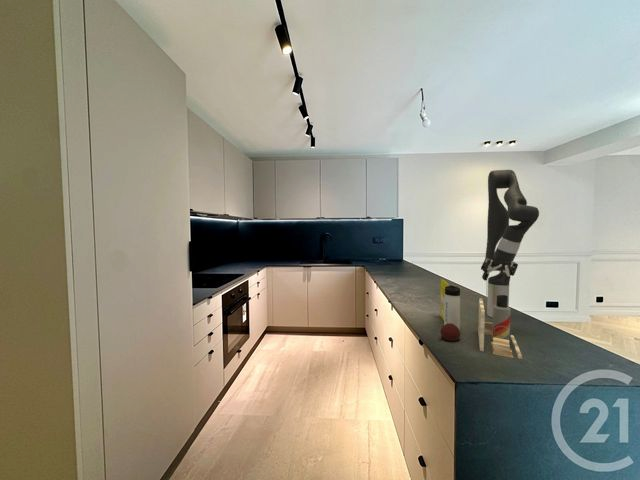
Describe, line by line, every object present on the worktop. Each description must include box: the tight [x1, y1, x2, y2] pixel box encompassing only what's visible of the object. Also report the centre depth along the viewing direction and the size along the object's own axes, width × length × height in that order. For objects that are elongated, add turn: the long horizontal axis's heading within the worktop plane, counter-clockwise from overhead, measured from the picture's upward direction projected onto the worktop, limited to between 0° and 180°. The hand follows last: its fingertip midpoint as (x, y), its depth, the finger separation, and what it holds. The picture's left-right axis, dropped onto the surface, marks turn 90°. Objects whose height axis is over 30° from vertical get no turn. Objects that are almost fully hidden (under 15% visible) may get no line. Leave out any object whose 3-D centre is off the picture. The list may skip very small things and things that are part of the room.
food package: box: [439, 278, 450, 321], centre depth 133 cm, size 15×1×20 cm, turn 168°
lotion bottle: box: [491, 295, 512, 342], centre depth 106 cm, size 6×6×20 cm
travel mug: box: [443, 284, 461, 330], centre depth 120 cm, size 6×7×20 cm
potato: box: [440, 323, 461, 342], centre depth 110 cm, size 7×8×7 cm
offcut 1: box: [492, 338, 511, 351], centre depth 99 cm, size 6×5×2 cm
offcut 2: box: [490, 341, 513, 357], centre depth 99 cm, size 6×5×2 cm
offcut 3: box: [491, 349, 514, 358], centre depth 99 cm, size 7×6×2 cm
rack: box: [477, 297, 523, 360], centre depth 105 cm, size 20×13×16 cm, turn 151°
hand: (493, 280), depth 123 cm, fingers open, 8 cm apart
